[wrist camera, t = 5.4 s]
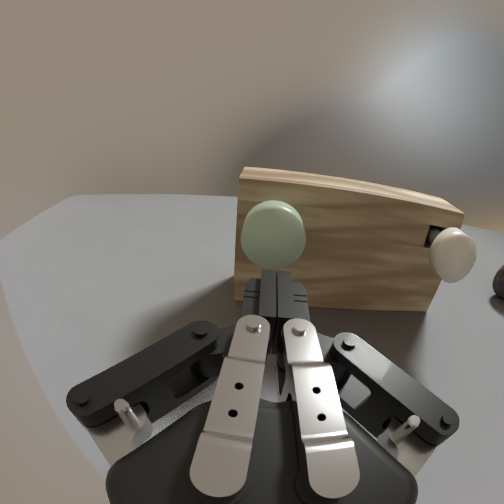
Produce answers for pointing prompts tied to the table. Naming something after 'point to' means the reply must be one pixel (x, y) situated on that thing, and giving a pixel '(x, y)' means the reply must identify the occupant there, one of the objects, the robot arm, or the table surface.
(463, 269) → the button white
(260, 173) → the light wood rectangular block
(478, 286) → the table surface
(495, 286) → the perforated stone tool
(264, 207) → the button sage
